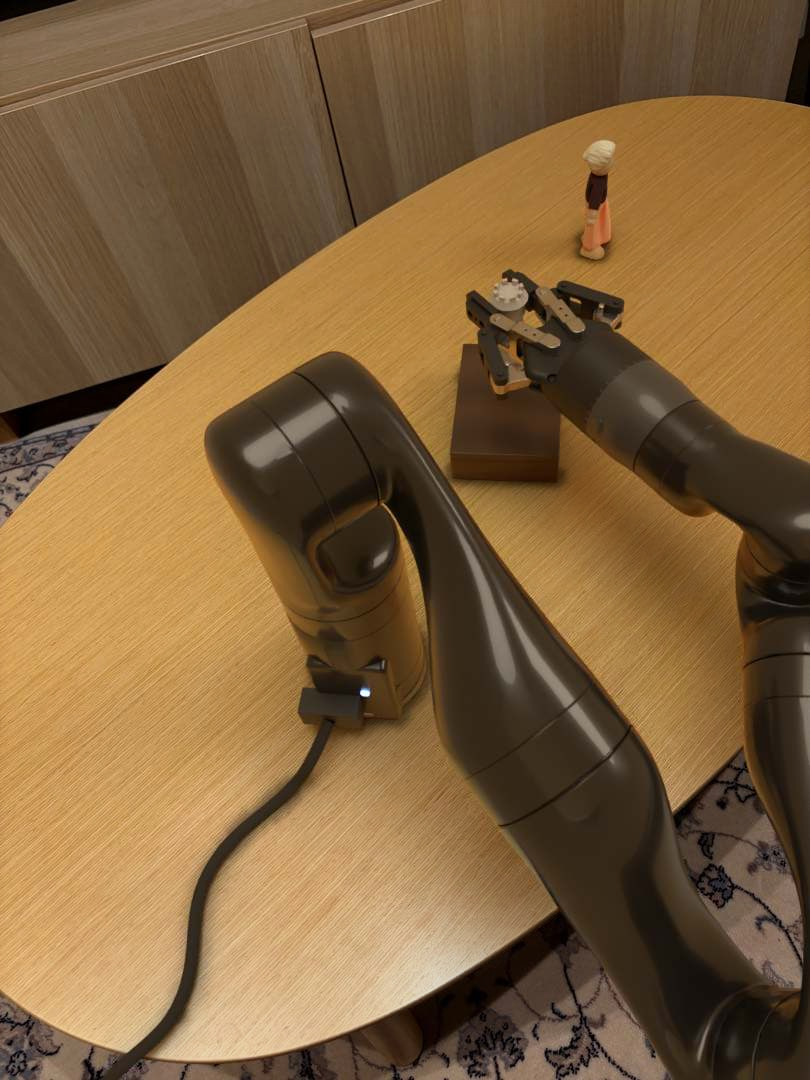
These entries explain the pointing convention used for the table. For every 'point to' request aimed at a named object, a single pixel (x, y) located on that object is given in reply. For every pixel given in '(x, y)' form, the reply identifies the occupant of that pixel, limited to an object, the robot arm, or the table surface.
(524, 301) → the rook chess piece
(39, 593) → the table surface
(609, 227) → the grandmother figurine
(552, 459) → the walnut box
